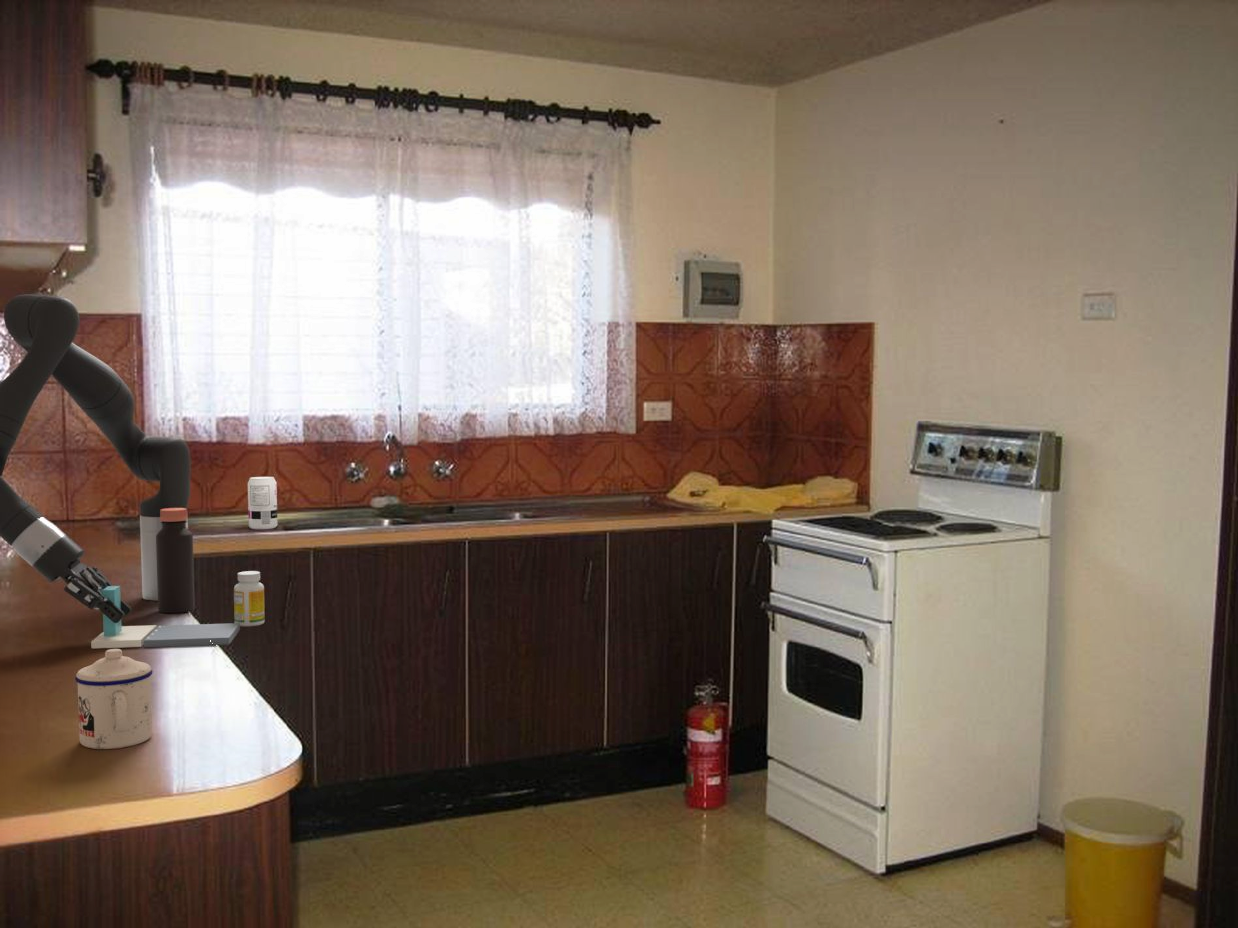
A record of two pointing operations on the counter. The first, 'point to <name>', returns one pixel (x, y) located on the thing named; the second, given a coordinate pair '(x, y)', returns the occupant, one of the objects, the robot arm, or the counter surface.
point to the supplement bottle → (249, 599)
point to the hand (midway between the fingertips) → (123, 616)
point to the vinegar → (175, 563)
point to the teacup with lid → (114, 702)
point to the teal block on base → (120, 628)
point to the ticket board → (192, 635)
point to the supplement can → (262, 503)
